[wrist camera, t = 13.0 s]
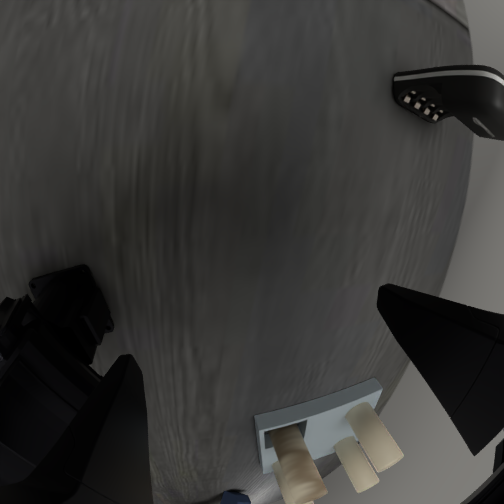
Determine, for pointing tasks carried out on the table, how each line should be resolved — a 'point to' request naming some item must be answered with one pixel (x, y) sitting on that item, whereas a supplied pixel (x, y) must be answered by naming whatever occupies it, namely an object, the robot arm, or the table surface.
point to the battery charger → (455, 96)
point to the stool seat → (334, 434)
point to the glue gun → (234, 498)
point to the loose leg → (297, 464)
